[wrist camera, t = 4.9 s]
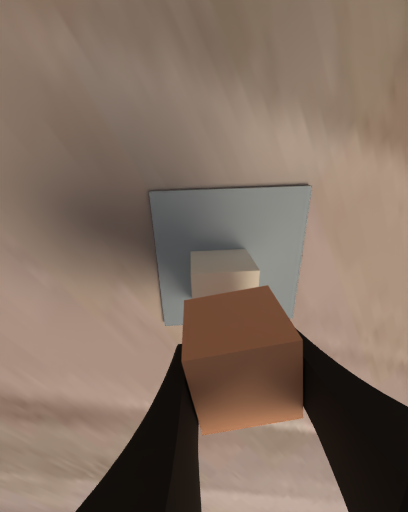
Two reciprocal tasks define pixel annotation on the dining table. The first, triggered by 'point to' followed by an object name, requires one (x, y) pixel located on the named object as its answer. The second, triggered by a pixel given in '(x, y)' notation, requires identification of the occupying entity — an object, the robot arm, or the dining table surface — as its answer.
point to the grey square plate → (229, 237)
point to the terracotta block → (242, 360)
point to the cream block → (222, 272)
